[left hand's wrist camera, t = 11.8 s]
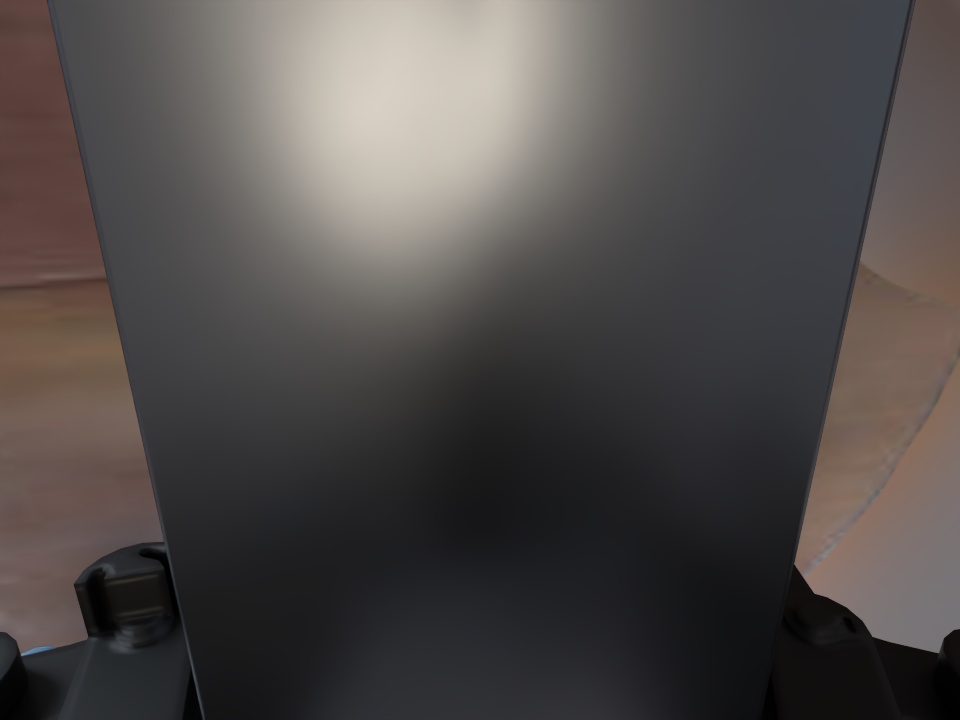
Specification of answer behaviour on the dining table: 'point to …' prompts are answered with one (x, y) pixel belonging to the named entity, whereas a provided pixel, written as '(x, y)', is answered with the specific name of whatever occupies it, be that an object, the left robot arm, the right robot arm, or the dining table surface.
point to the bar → (481, 333)
